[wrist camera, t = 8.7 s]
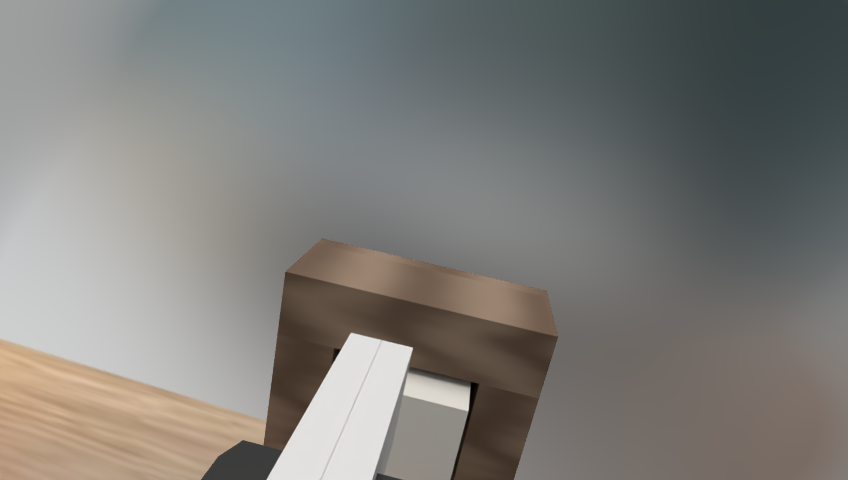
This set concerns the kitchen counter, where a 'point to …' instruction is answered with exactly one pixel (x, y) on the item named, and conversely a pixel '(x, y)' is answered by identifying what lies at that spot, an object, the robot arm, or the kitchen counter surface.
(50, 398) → the kitchen counter surface
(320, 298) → the key panel
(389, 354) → the robot arm
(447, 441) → the white key
